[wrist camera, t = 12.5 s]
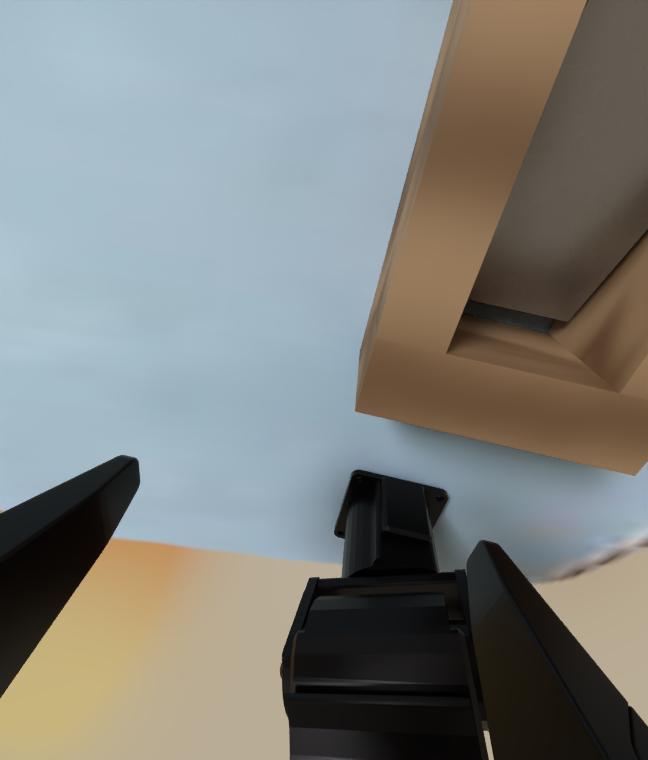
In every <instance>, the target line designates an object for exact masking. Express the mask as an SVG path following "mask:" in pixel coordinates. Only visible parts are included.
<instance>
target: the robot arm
mask: <svg viewBox="0 0 648 760" xmlns="http://www.w3.org/2000/svg"><path fill="white" fill-rule="evenodd" d="M356 477H361V478H356ZM139 485H140V472H139V462H138V460H137V458H134V457H130V456H126V455H120V456H117V457H115V458H113V459H111V460H109V461H107V462H105V463H103V464H101V465H99V466H97V467H95V468H93V469H91V470H89V471H87V472H84V473H82V474H80V475H78V476H76V477H74V478H72V479H70V480H68V481H66V482H64V483H62V484H60V485H58V486H56V487H54V488H52V489H50V490H48V491H46V492H43V493H41V494H39V495H37V496H35V497H33V498H31V499H29V500H27V501H25V502H23V503H21V504H19V505H17V506H15V507H13V508H11V509H9V510H7V511H5V512H3V513H0V698H1V697H2V695H3V694H4V692H5V691H6V689H7V688H8V686H9V685H10V683H11V682H12V681H13V679H14V678H15V676H16V675H17V674H18V672H19V671H20V669H21V668H22V666H23V665H24V664H25V662H26V661H27V659H28V658H29V656H30V655H31V653H32V652H33V650H34V649H35V648H36V646H37V645H38V643H39V642H40V640H41V639H42V638H43V636H44V635H45V633H46V632H47V630H48V629H49V628H50V626H51V625H52V623H53V622H54V620H55V619H56V617H57V616H58V615H59V613H60V612H61V610H62V609H63V607H64V606H65V604H66V603H67V602H68V600H69V599H70V597H71V596H72V594H73V593H74V592H75V590H76V588H77V587H78V586H79V584H80V583H81V581H82V580H83V579H84V577H85V576H86V574H87V573H88V572H89V570H90V569H91V567H92V566H93V564H94V563H95V561H96V560H97V559H98V557H99V556H100V554H101V553H102V551H103V550H104V548H105V547H106V545H107V544H108V542H109V540H110V538H111V537H112V535H113V533H114V531H115V530H116V528H117V526H118V524H119V522H120V521H121V519H122V517H123V515H124V513H125V512H126V510H127V508H128V506H129V504H130V503H131V501H132V499H133V497H134V495H135V494H136V492H137V490H138V488H139ZM438 496H441V497H438ZM447 500H448V497H447V493H446V491H445V490H443V489H440V488H435V487H431V486H427V485H422V484H418V483H414V482H410V481H405V480H401V479H397V478H392V477H388V476H384V475H379V474H375V473H371V472H367V471H362V470H355V471H353V472H352V474H351V477H350V480H349V483H348V487H347V490H346V493H345V496H344V499H343V503H342V506H341V509H340V512H339V515H338V519H337V522H336V525H335V530H334V534H335V535H336V536H337V537H339V538H343V539H345V542H344V554H343V566H342V578H327V579H319V577H314V578H309V581H308V583H307V586H306V589H305V591H304V593H303V596H302V599H301V601H300V604H299V607H298V610H297V613H296V616H295V618H294V621H293V624H292V627H291V630H290V632H289V635H288V638H287V641H286V644H285V646H284V649H283V653H282V664H281V667H280V675H281V678H282V690H283V701H284V707H285V711H286V714H287V716H288V719H289V729H290V730H289V731H290V760H489V758H488V753H487V749H486V743H485V738H484V732H483V730H484V731H488V732H489V734H490V740H491V745H492V751H493V756H494V760H648V726H647V725H646V724H645V722H644V721H643V720H642V719H641V718H640V716H639V715H638V714H637V713H636V711H635V710H634V709H633V708H632V707H631V706H628V702H627V701H626V699H625V698H624V697H623V696H622V695H621V693H620V692H619V691H618V690H617V689H616V687H615V686H614V685H613V684H612V682H611V681H610V680H609V679H608V677H607V676H606V675H605V674H604V673H603V671H602V670H601V669H600V668H599V666H598V665H597V664H596V663H595V661H594V660H593V659H592V658H591V657H590V656H589V654H588V653H587V652H586V650H584V648H583V647H582V646H581V644H580V643H579V642H578V641H577V639H576V638H575V637H574V636H573V635H572V633H571V632H570V631H569V630H568V628H567V627H566V626H565V625H564V624H563V622H562V621H561V620H560V619H559V617H558V616H557V615H556V614H555V613H554V611H553V610H552V609H551V608H550V606H549V605H548V604H547V603H546V602H545V600H544V599H543V598H542V597H541V595H540V594H539V593H538V592H537V591H536V589H535V588H534V587H533V586H532V584H531V583H530V582H529V581H528V580H527V578H526V577H525V576H524V575H523V573H522V572H521V571H520V570H519V569H518V567H517V566H516V565H515V564H514V562H513V561H512V560H511V559H510V558H509V556H508V555H507V554H506V553H505V551H504V550H503V549H502V548H501V547H500V546H499V545H498V544H497V543H494V542H489V541H485V540H481V541H480V542H479V543H478V544H477V546H476V547H475V549H474V550H473V552H472V553H471V555H470V557H469V558H468V561H467V575H466V572H465V569H463V570H455V572H441V573H439V567H438V561H437V555H436V549H435V544H434V538H433V532H432V529H433V527H434V525H435V523H436V521H437V519H438V517H439V516H440V514H441V512H442V510H443V508H444V506H445V504H446V502H447Z"/></svg>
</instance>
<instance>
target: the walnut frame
mask: <svg viewBox="0 0 648 760" xmlns="http://www.w3.org/2000/svg"><path fill="white" fill-rule="evenodd" d="M586 2H587V0H453V4H452V8H451V12H450V15H449V19H448V23H447V27H446V30H445V34H444V38H443V42H442V45H441V49H440V53H439V57H438V60H437V64H436V68H435V72H434V75H433V79H432V83H431V87H430V90H429V94H428V98H427V102H426V105H425V109H424V113H423V117H422V120H421V124H420V128H419V132H418V135H417V139H416V143H415V147H414V151H413V154H412V158H411V162H410V166H409V169H408V173H407V177H406V181H405V184H404V188H403V192H402V196H401V199H400V203H399V207H398V211H397V214H396V218H395V222H394V226H393V229H392V233H391V237H390V241H389V244H388V248H387V252H386V256H385V259H384V263H383V267H382V271H381V274H380V278H379V282H378V286H377V289H376V293H375V297H374V301H373V304H372V308H371V312H370V316H369V319H368V323H367V327H366V331H365V334H364V338H363V342H362V346H361V349H360V357H359V369H358V381H357V393H356V405H355V411H356V412H360V413H364V414H369V415H373V416H377V417H382V418H386V419H390V420H395V421H399V422H403V423H408V424H412V425H416V426H421V427H425V428H429V429H434V430H438V431H442V432H447V433H451V434H455V435H460V436H464V437H468V438H473V439H477V440H481V441H486V442H490V443H494V444H499V445H503V446H507V447H512V448H516V449H520V450H525V451H529V452H533V453H538V454H542V455H546V456H551V457H555V458H559V459H564V460H568V461H572V462H577V463H581V464H585V465H590V466H594V467H599V468H603V469H607V470H612V471H616V472H620V473H625V474H629V475H633V476H635V475H636V474H637V473H638V472H639V471H640V469H641V468H642V467H643V466H644V465H645V463H646V462H647V461H648V229H647V230H646V232H645V233H644V234H643V235H642V236H641V237H640V239H639V240H638V241H637V242H636V243H635V244H634V246H633V247H632V248H631V249H630V250H629V251H628V253H627V254H626V255H625V256H624V257H623V258H622V260H621V261H620V262H619V263H618V264H617V265H616V267H615V268H614V269H613V270H612V271H611V272H610V274H609V275H608V276H607V277H606V278H605V279H604V280H603V282H602V283H601V284H600V285H599V286H598V287H597V289H596V290H595V291H594V292H593V293H592V294H591V296H590V297H589V298H588V299H587V300H586V301H585V303H584V304H583V305H582V306H581V307H580V308H579V310H578V311H577V312H576V313H575V314H574V315H573V317H572V318H571V319H570V320H569V321H568V322H566V321H561V320H557V319H555V321H554V322H553V324H552V326H551V328H550V330H549V332H548V333H546V332H542V331H537V330H533V329H528V328H524V327H519V326H515V325H511V324H506V323H502V322H497V321H493V320H488V319H484V318H479V317H475V316H471V315H466V314H462V312H463V310H464V307H465V305H466V302H467V300H468V297H469V295H470V292H471V290H472V287H473V285H474V282H475V280H476V277H477V275H478V272H479V270H480V267H481V265H482V262H483V260H484V257H485V255H486V252H487V250H488V247H489V245H490V242H491V240H492V237H493V235H494V232H495V230H496V227H497V225H498V222H499V220H500V217H501V215H502V212H503V210H504V207H505V205H506V202H507V200H508V197H509V195H510V192H511V190H512V187H513V185H514V182H515V180H516V177H517V175H518V172H519V170H520V167H521V165H522V162H523V160H524V157H525V155H526V152H527V150H528V147H529V145H530V142H531V140H532V137H533V135H534V132H535V129H536V127H537V124H538V122H539V119H540V117H541V114H542V112H543V109H544V107H545V104H546V102H547V99H548V97H549V94H550V92H551V89H552V87H553V84H554V82H555V79H556V77H557V74H558V72H559V69H560V67H561V64H562V62H563V59H564V57H565V54H566V52H567V49H568V47H569V44H570V42H571V39H572V37H573V34H574V32H575V29H576V27H577V24H578V22H579V19H580V17H581V14H582V12H583V9H584V7H585V4H586Z"/></svg>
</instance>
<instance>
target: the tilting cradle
mask: <svg viewBox="0 0 648 760" xmlns="http://www.w3.org/2000/svg"><path fill="white" fill-rule="evenodd" d="M647 229H648V0H587V2H586V4H585V7H584V9H583V12H582V14H581V17H580V19H579V22H578V24H577V27H576V29H575V32H574V34H573V37H572V39H571V42H570V44H569V47H568V49H567V52H566V54H565V57H564V59H563V62H562V64H561V67H560V69H559V72H558V74H557V77H556V79H555V82H554V84H553V87H552V89H551V92H550V94H549V97H548V99H547V102H546V104H545V107H544V109H543V112H542V114H541V117H540V119H539V122H538V124H537V127H536V129H535V132H534V135H533V137H532V140H531V142H530V145H529V147H528V150H527V152H526V155H525V157H524V160H523V162H522V165H521V167H520V170H519V172H518V175H517V177H516V180H515V182H514V185H513V187H512V190H511V192H510V195H509V197H508V200H507V202H506V205H505V207H504V210H503V212H502V215H501V217H500V220H499V222H498V225H497V227H496V230H495V232H494V235H493V237H492V240H491V242H490V245H489V247H488V250H487V252H486V255H485V257H484V260H483V262H482V265H481V267H480V270H479V272H478V275H477V277H476V280H475V282H474V285H473V287H472V290H471V292H470V295H469V297H468V300H472V301H477V302H481V303H486V304H490V305H495V306H499V307H504V308H508V309H512V310H517V311H521V312H526V313H530V314H535V315H539V316H544V317H548V318H552V319H557V320H561V321H566V322H568V321H569V320H570V319H571V318H572V317H573V315H574V314H575V313H576V312H577V311H578V310H579V308H580V307H581V306H582V305H583V304H584V303H585V301H586V300H587V299H588V298H589V297H590V296H591V294H592V293H593V292H594V291H595V290H596V289H597V287H598V286H599V285H600V284H601V283H602V282H603V280H604V279H605V278H606V277H607V276H608V275H609V274H610V272H611V271H612V270H613V269H614V268H615V267H616V265H617V264H618V263H619V262H620V261H621V260H622V258H623V257H624V256H625V255H626V254H627V253H628V251H629V250H630V249H631V248H632V247H633V246H634V244H635V243H636V242H637V241H638V240H639V239H640V237H641V236H642V235H643V234H644V233H645V232H646V230H647Z"/></svg>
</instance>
